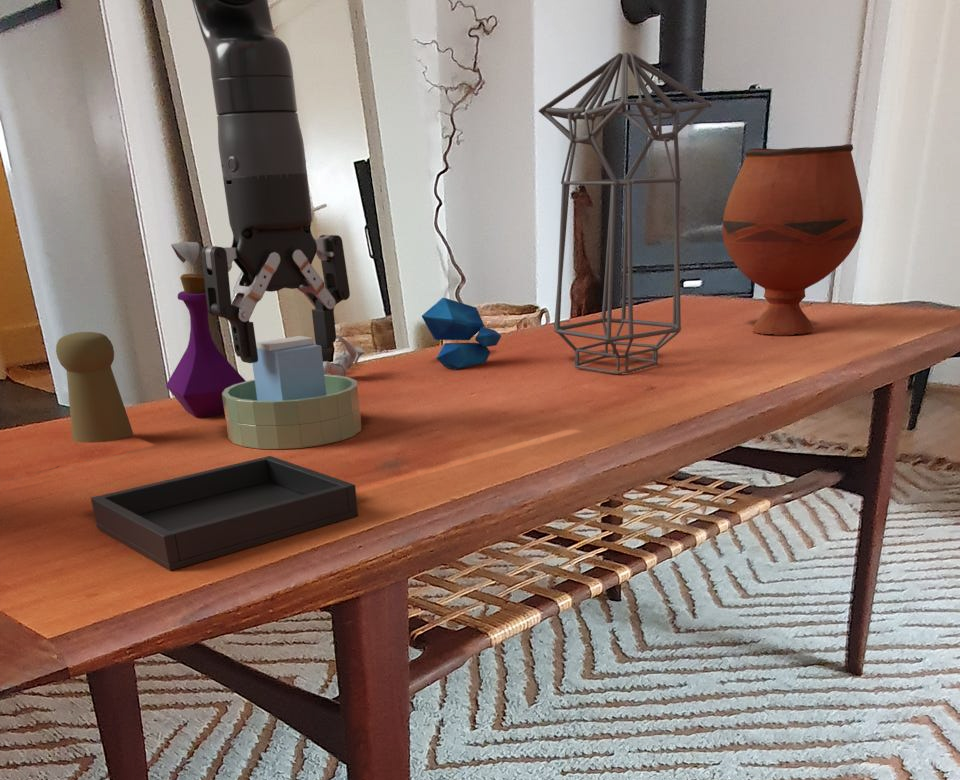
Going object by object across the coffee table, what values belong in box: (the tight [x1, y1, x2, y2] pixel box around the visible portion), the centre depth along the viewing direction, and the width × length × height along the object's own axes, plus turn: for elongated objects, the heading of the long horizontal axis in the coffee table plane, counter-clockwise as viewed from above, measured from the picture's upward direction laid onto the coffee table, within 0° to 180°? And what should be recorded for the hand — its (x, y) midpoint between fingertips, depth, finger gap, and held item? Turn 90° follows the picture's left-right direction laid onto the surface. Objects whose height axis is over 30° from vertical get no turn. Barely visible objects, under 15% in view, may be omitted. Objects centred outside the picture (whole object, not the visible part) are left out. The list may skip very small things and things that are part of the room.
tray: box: [90, 455, 359, 572], centre depth 74 cm, size 16×13×2 cm
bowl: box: [222, 374, 362, 450], centre depth 97 cm, size 13×13×5 cm
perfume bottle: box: [165, 241, 246, 419], centre depth 104 cm, size 8×8×18 cm
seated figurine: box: [323, 335, 366, 377], centre depth 122 cm, size 8×5×12 cm
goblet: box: [721, 143, 864, 336], centre depth 140 cm, size 19×19×25 cm
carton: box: [251, 335, 326, 401], centre depth 96 cm, size 5×5×9 cm
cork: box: [55, 331, 135, 444], centre depth 95 cm, size 6×6×11 cm
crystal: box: [421, 297, 502, 370], centre depth 128 cm, size 7×9×12 cm
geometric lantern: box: [538, 52, 713, 375], centre depth 118 cm, size 16×16×35 cm
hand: (288, 355), depth 94 cm, fingers open, 8 cm apart
